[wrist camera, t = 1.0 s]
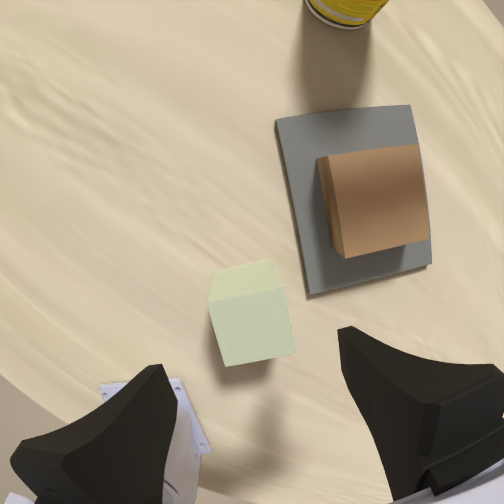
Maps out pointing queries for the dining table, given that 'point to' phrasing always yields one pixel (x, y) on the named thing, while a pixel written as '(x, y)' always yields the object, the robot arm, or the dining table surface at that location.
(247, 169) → the dining table surface
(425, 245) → the mat
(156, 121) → the dining table surface
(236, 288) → the sage pillar
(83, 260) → the dining table surface
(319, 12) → the supplement bottle
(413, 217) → the walnut block
